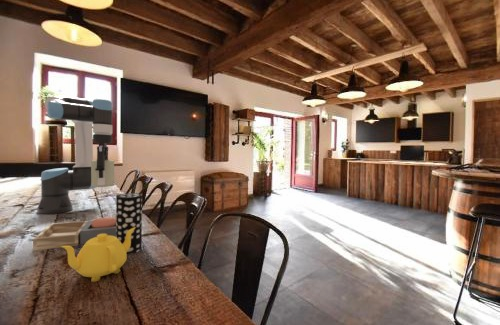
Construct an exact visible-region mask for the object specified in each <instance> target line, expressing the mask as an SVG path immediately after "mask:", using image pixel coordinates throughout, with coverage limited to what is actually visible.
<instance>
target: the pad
mask: <svg viewBox="0 0 500 325" xmlns="http://www.w3.org/2000/svg"><path fill="white" fill-rule="evenodd" d="M92 220H93V221H92V229H93V228H104V227H115V226H116V216H115V217H114V216H107V217H106V216H105V217H99V218H95V219H92Z"/></svg>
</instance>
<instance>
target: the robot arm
mask: <svg viewBox="0 0 500 325" xmlns="http://www.w3.org/2000/svg"><path fill="white" fill-rule="evenodd" d="M43 104H44V105H43V106H44V109H45V110H46V113H47V117H48V118H50V119H55V120H65V121H66V120H67V121H71V122H72V123H74V143H75V144H74V145H75V148H74V150H75V151H74V152H75V153H74V154H75V164H74V165H73V166H72V170H71V169H69V168H68V167H60V168H59V167H58V168H52V169H50V168H49V169H46V170H43V171H41V175H40V176H41V177H40V181H41V184H40V187H41V190H40V192H41V194H40V201H39V203H38V205H37V209H36V210H37V211H36V213H37V214H41V215H49V214H50V215H51V214H61V213H65V212H69V211H71V210H73V202H72V201H71V198H70V195H69V192H70V191H83V190H84V191H85V190H93V189H97V187H91V161H92V160H94V145H93V143H94V144H95V143H96V144H97V143H98V146H96V160H97V167H96V168H97V169H95V170H97V177H98V185H105V168H104V167H105V161H106V160H109V146H108V145H107V144H112V143H113V135H112V134H113V110H114V107H113V102H112V101H111V100H109V99H104V98H94V99H88V98H81V97H74V96H66V95H55V96H54V95H53V96H49V97H48V98H46V99H45V100H44V103H43Z"/></svg>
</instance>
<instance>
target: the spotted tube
mask: <svg viewBox="0 0 500 325" xmlns="http://www.w3.org/2000/svg"><path fill="white" fill-rule="evenodd" d="M115 199H116V200H115V203H116V204H115V212H116V213H115V218H116V237H117V238H118V239H119V240H120V242H121V243H122V244H123V243H124V241H125V238H126V234H127V232H128V231H129V230H130V229H132V228H134V227H136V228H135V229H134V230H133V232H132V234H131V246H130V249H129V250H128V252H127V253H126V254H127V255H132V254H135V253H138V252H140V251H141V250H142V248H143V247H142V246H143V245H142V244H143V242H142V241H143V240H142V239H143V238H142V237H143V194H142V193H137V192H134V193H133V192H129V193H122V194H121V193H120V194H117V195H116V198H115Z"/></svg>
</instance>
